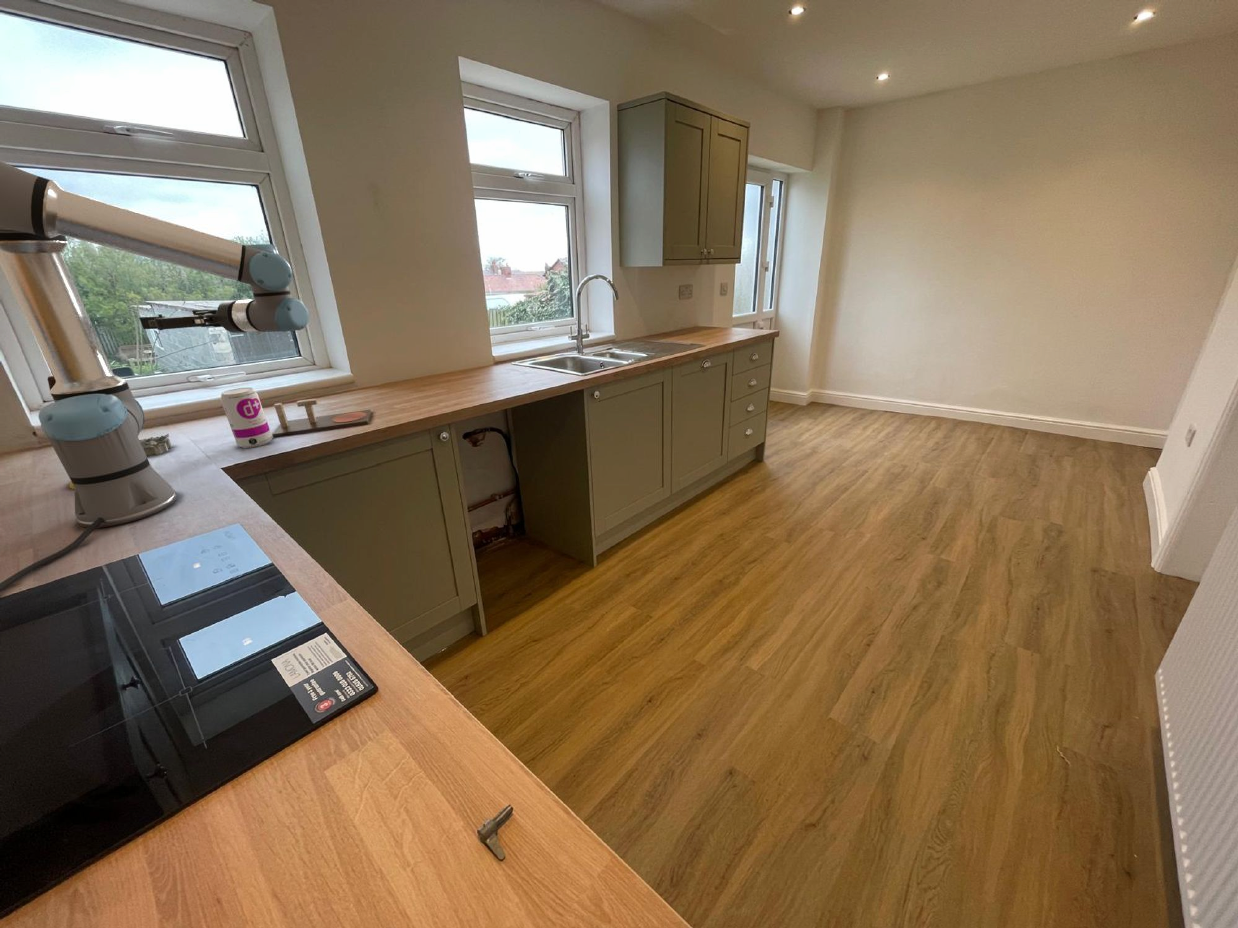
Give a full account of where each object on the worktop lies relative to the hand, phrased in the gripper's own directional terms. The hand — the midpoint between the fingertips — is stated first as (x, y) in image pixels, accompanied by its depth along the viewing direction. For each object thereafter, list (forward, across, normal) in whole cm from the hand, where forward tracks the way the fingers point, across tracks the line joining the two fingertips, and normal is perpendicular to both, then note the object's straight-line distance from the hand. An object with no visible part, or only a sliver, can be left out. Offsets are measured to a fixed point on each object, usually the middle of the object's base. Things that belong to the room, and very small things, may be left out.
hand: (170, 319), depth 125 cm
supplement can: (-9, +2, -34) cm, 36 cm away
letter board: (-18, +19, -34) cm, 43 cm away
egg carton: (+17, -6, -34) cm, 39 cm away
